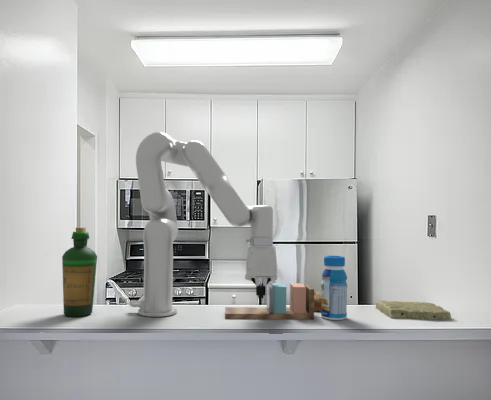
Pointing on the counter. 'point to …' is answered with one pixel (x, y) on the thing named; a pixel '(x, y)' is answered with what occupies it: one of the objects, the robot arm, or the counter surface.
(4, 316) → the counter surface
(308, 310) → the wooden book rack
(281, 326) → the counter surface
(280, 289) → the teal rectangular block
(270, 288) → the bookend
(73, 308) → the bottle
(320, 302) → the bread roll
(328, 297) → the beverage bottle
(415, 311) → the decorative tile
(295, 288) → the salmon pink block
